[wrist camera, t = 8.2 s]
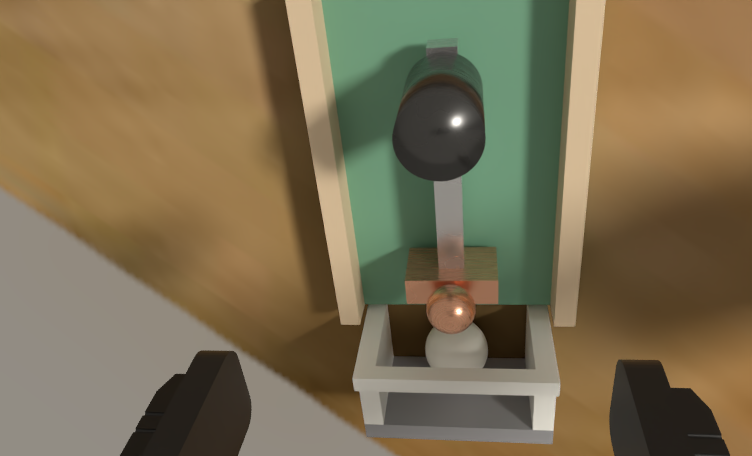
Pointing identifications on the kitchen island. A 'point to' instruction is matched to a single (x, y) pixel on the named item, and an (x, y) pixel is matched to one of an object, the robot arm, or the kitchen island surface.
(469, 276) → the striker
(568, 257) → the pitch
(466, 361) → the ball
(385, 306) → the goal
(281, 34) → the kitchen island surface
